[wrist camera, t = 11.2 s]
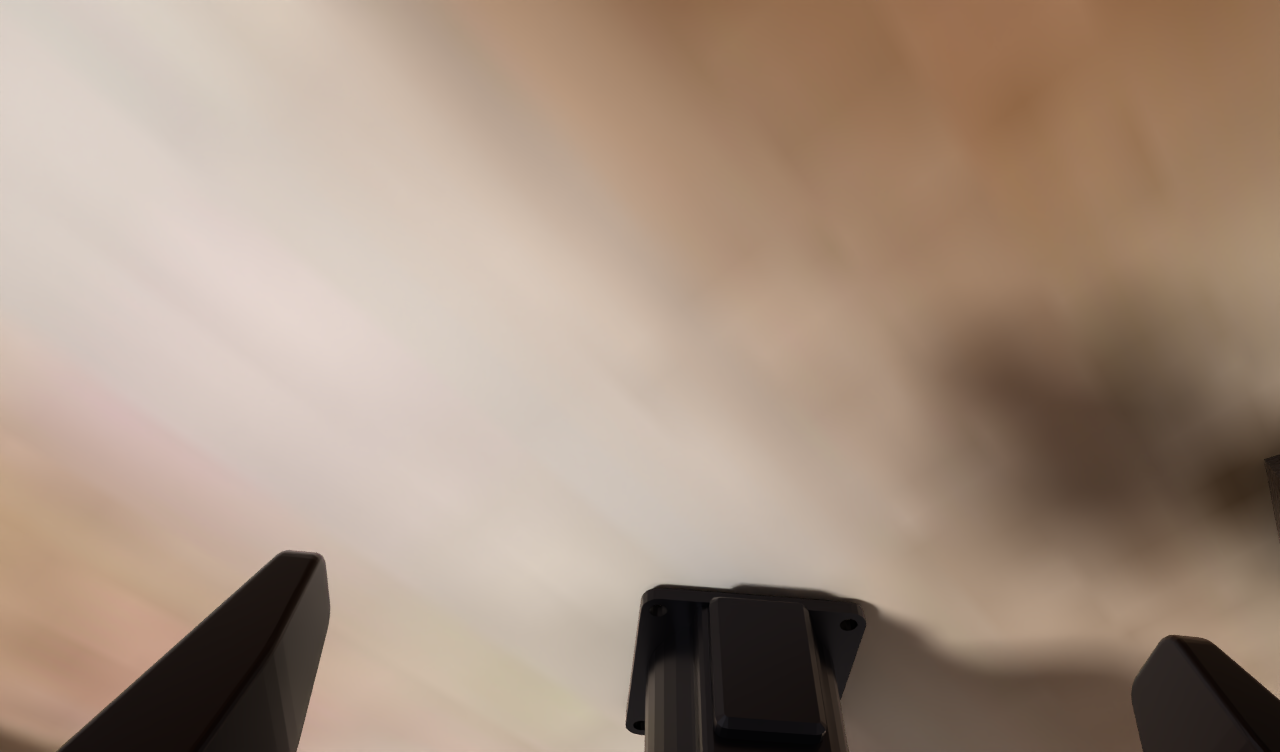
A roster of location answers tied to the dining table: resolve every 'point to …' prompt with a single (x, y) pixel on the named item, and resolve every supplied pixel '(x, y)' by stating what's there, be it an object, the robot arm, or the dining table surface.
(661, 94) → the dining table surface
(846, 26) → the dining table surface
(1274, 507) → the charcoal rectangular brick
